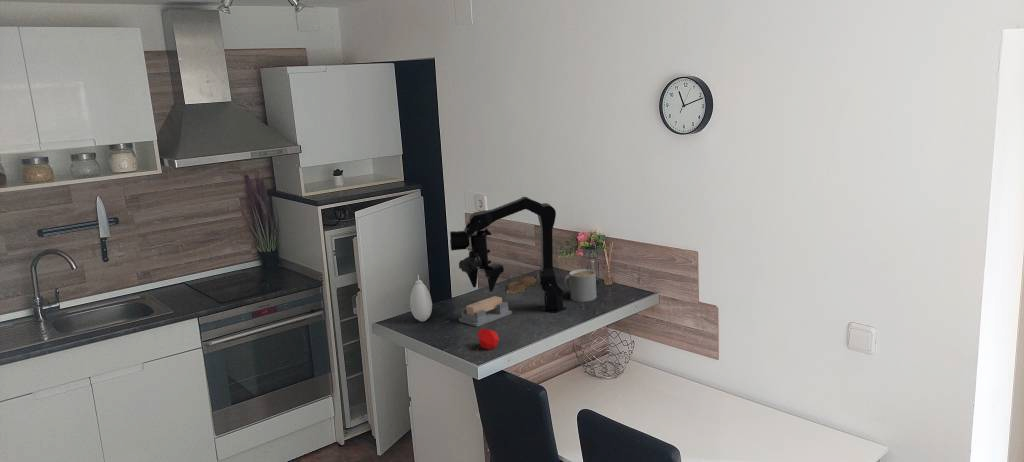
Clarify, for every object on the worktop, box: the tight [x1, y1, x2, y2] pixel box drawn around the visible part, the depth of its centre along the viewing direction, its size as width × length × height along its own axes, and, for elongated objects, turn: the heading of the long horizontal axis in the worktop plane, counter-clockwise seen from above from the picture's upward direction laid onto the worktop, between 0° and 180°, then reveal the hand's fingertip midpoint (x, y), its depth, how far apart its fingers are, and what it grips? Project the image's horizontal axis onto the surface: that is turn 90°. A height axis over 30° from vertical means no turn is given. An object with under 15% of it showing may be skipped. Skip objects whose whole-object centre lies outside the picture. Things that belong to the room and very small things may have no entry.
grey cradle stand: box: [458, 301, 513, 328], centre depth 269 cm, size 10×17×4 cm, turn 133°
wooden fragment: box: [506, 276, 538, 295], centre depth 308 cm, size 26×11×1 cm, turn 153°
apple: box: [477, 327, 500, 350], centre depth 240 cm, size 7×7×8 cm
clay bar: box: [465, 295, 503, 316], centre depth 269 cm, size 4×14×3 cm, turn 133°
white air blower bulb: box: [409, 274, 433, 322], centre depth 269 cm, size 8×8×18 cm
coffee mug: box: [564, 268, 597, 303], centre depth 284 cm, size 13×10×10 cm
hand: (482, 289), depth 267 cm, fingers open, 9 cm apart
